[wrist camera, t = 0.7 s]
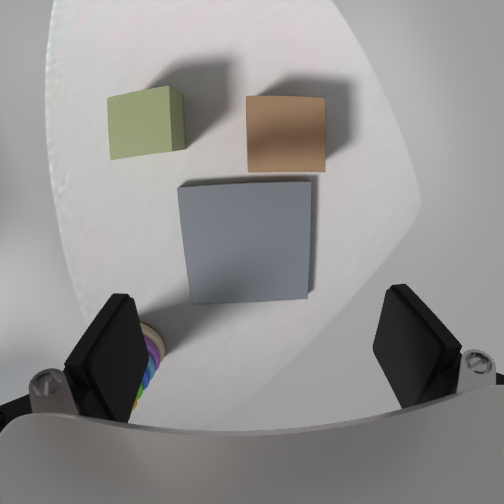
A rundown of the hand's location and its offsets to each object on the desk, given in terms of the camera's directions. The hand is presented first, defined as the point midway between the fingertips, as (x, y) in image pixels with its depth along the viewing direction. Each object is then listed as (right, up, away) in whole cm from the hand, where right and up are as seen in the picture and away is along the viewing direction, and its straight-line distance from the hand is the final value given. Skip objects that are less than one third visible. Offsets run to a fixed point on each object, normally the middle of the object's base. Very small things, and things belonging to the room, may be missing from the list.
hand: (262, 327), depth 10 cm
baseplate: (-1, +4, +23) cm, 23 cm away
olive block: (-10, +16, +17) cm, 26 cm away
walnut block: (+3, +15, +18) cm, 24 cm away
